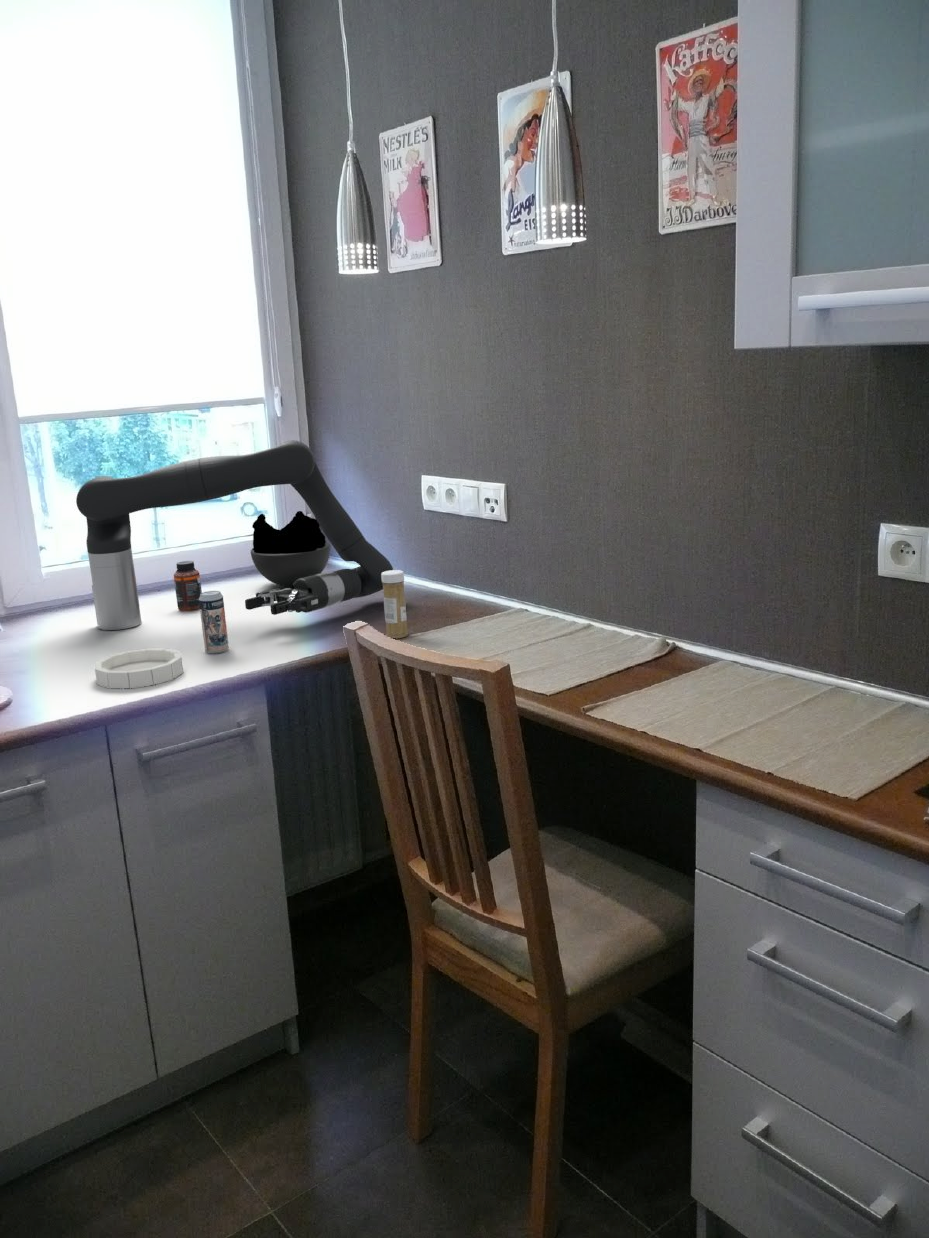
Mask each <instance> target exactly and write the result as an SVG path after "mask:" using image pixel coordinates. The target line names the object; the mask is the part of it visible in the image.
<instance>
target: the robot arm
mask: <svg viewBox="0 0 929 1238" xmlns="http://www.w3.org/2000/svg"><path fill="white" fill-rule="evenodd" d="M280 485H290V486H291V487H292V488H293V489H294V490H295V492H296V491H297V493H298V494H299V496H300V497H301V499H303V501H304V503H306V505H307V506H308V508H309V509H310V511H311V512H312V514H313V516H314V519H316V520H317V522H318V523H319V525H320V526H319V528H320V530H321V531H322V533H323V534H324V536H325V538H327V540H328V541H329V544H330V545H331V546H332V547H333V549H334V550H335V551H336V553H337V554H338V556H339V557H340V559H342V561H344V562H354V563H357V564H358V565H359V566H357V567H355V568H354V567H353V568H342V569H338V570H333V571H329V572H321V573H320V574H316V575H312V576H308V577H304V578H300V579H297V580H296V581H295V582H294V584H293V586H292V587H286V588H283V589H280V588H278V587H276V588H273V589H268V590H263V591H260V592H259V591H258V592H256V593H255V596H253V597H250V598H246V599H245V601H244V605H245V609H246V610H255V609H258V608H263V607H270V614H271V615H272V616H273V615H274V616H275V615H279V614H284V613H286V612H287V613H293V612H295V613H297V614H298V613H311V612H314V611H317V610H321V609H326V608H330V607H331V606H334V605H336V604H339V603H343V602H346V601H349V600H352V599H357V598H363V597H369V596H371V595H373V594H376V593H377V592H380V591H383V584H382V583H383V582H382V578H381V574H382V572H385V571H390V570H394V567H393V565H392V563H391V562H390V560H389V559H388V558H387V557H386V556H384V554H383V553H381V551H379V550H378V549H377V548H376V547H375V546H374V545H372V544H371V543H370V542H369V541H368V540H366V538H365V536H364V535H363V533H362V532H361V531H360V529H359V527H358V526H357V525H356V522H354V520H353V519H352V518H351V516H350V515H349V513H348V512H347V511H346V510H345V508H344V507H343V505H342V504H341V503H340V502H339V500H338V499H337V498H336V496H335V495H334V493H333V491H332V490H331V489H330V487H329V486H328V484H327V483H326V481H325V479H324V477H323V475H322V473H321V471H320V469H319V467H318V464H317V463H316V460H315V457H314V452H312V450H311V448H310V447H309V446H308V445H307V444H305V443H304V442H302V441H298V440H295V439H294V440H286V441H284V442H282V443H281V444H279V445H277V446H275V447H270V448H268V449H265V450H260V451H256V452H253V453H249V454H240V455H214V456H208V457H207V456H206V457H200V458H194V459H189V460H185V461H181V462H177V463H173V464H170V465H167V466H163V467H161V468H158V469H154V470H152V471H149V472H146V473H143V474H139V475H137V476H135V475H134V476H129V477H121V478H113V477H112V476H106V475H100V476H97V477H94V478H92V479H90V480H88V481H86V482H85V483H83V484H82V486H81V487H80V488H79V490H78V492H77V495H76V498H75V499H76V500H75V502H76V506H77V509H78V511H79V512H80V513H81V515H82V516H84V518H86V519H85V520H86V526H87V535H86V549H87V556H88V562H89V568H90V569H89V570H90V576H91V583H92V585H91V590H92V596H93V597H92V598H93V601H94V602H93V603H94V611H95V618H96V624H97V626H98V629H100V630H104V631H119V630H125V629H130V628H134V627H137V626H139V625H141V624H142V617H141V607H140V599H139V592H138V585H137V579H136V571H135V564H134V558H133V550H132V549H133V548H132V541H131V539H132V538H131V537H132V536H131V535H132V527H131V518H130V514H132V513H136V512H139V511H143V510H148V509H149V510H150V509H155V508H157V509H158V508H167V507H168V508H169V507H176V506H182V505H189V504H196V503H201V502H207V501H210V500H211V501H212V500H216V499H220V498H224V497H228V496H231V495H233V494H237V493H241V492H243V491H246V490H251V489H255V488H262V487H268V486H280Z"/></svg>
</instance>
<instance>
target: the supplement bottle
mask: <svg viewBox="0 0 929 1238" xmlns="http://www.w3.org/2000/svg"><path fill="white" fill-rule="evenodd" d="M175 565H176V571H175V572H174V573H173V580H174V581H173V582H174V588H175V589H174V591H175V596H176V603H177V609H178V610H179V611H181V612H195V611H199V610H200V605H199V598H200V594H201V593H203V592H202V591H203V590H202V583H201V576H200V571H198V569H196V568H195V563H194V561H193V560H182V561H178V562H176V564H175Z"/></svg>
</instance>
